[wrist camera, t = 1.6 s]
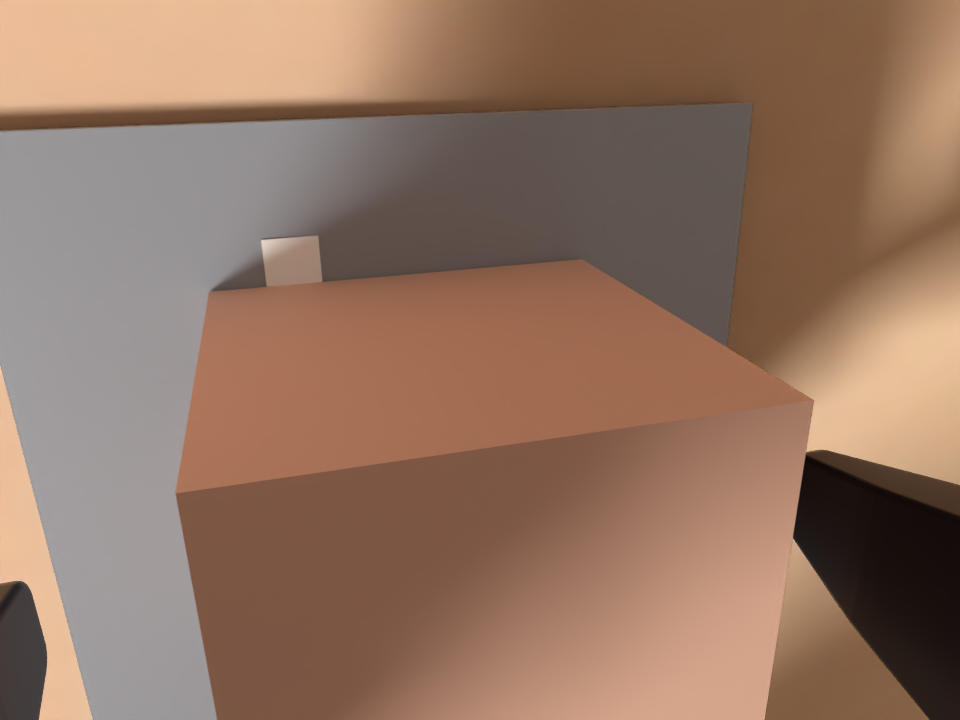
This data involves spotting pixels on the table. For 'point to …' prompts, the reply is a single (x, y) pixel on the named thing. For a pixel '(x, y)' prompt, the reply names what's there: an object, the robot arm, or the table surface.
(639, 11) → the table surface
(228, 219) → the tile
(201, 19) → the table surface
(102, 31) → the table surface
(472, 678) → the block
